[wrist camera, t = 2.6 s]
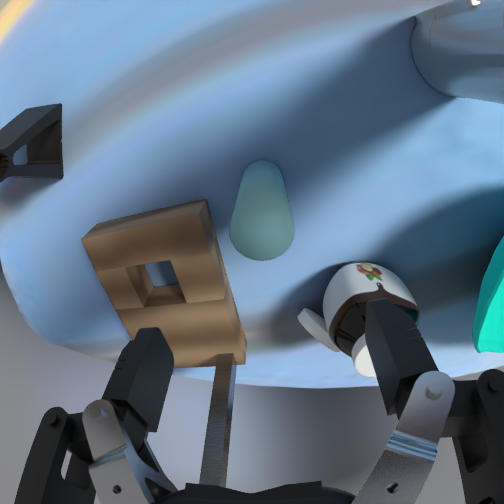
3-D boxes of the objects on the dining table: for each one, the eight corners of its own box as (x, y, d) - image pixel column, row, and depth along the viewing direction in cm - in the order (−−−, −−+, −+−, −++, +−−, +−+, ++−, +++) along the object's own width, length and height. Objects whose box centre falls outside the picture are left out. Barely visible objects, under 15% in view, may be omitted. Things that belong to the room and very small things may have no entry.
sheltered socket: (97, 223, 31) (-62, 433, 6) (206, 199, 30) (74, 539, 4) (159, 352, 42) (109, 531, 16) (248, 346, 40) (234, 558, 15)
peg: (238, 163, 28) (222, 207, 17) (279, 157, 27) (289, 197, 17) (246, 201, 30) (236, 264, 19) (285, 195, 29) (297, 255, 19)
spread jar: (404, 267, 33) (445, 332, 23) (366, 332, 38) (388, 398, 28) (319, 245, 32) (341, 317, 22) (288, 319, 37) (294, 394, 27)
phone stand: (63, 177, 28) (-4, 219, 18) (30, 176, 28) (-34, 215, 18) (62, 103, 24) (-15, 120, 14) (28, 108, 24) (-45, 128, 13)
